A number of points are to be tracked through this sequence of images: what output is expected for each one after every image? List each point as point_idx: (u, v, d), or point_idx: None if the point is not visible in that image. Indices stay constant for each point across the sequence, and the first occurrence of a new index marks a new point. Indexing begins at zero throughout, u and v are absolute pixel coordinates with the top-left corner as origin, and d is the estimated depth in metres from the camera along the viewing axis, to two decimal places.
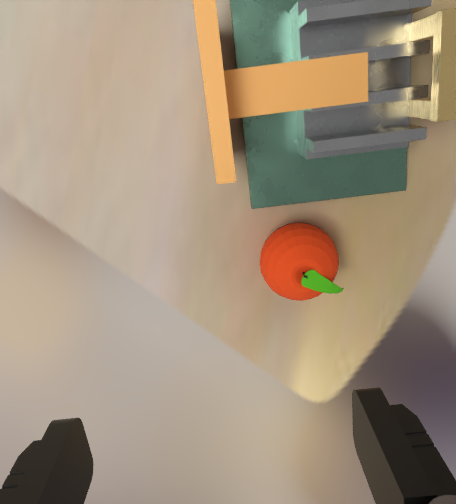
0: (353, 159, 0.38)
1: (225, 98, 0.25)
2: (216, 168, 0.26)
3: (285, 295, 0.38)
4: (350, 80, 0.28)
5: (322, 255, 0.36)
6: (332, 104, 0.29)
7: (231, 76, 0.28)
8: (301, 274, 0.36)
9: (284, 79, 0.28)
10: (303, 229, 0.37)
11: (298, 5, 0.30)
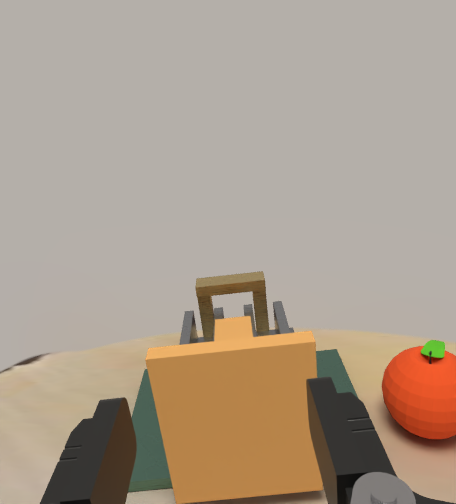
0: None
1: (231, 340, 0.26)
2: (298, 342, 0.25)
3: None
4: (233, 324, 0.35)
5: (403, 352, 0.35)
6: (251, 330, 0.34)
7: None
8: (432, 363, 0.33)
9: None
10: (385, 381, 0.34)
11: None
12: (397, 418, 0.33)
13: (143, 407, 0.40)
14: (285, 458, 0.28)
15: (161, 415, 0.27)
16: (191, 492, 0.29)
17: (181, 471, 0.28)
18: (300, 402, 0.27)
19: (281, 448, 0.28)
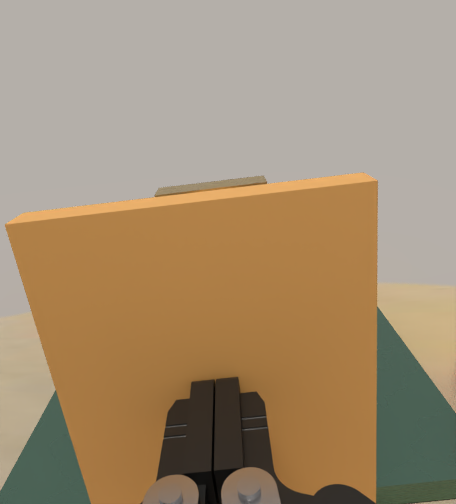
0: None
1: (196, 193, 0.13)
2: (340, 183, 0.12)
3: None
4: None
5: None
6: None
7: None
8: None
9: None
10: None
11: None
12: None
13: None
14: (306, 443, 0.14)
15: (53, 354, 0.13)
16: None
17: (104, 470, 0.15)
18: (339, 325, 0.13)
19: (299, 423, 0.14)
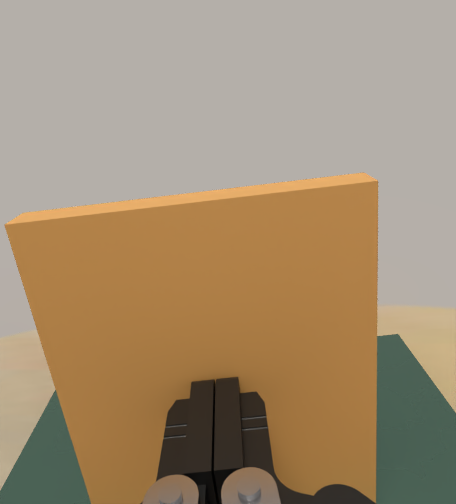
0: None
1: (196, 193, 0.13)
2: (340, 183, 0.11)
3: None
4: None
5: None
6: None
7: None
8: None
9: None
10: None
11: None
12: None
13: (42, 444, 0.21)
14: (306, 443, 0.14)
15: (53, 354, 0.13)
16: None
17: (104, 470, 0.15)
18: (340, 325, 0.13)
19: (299, 423, 0.14)
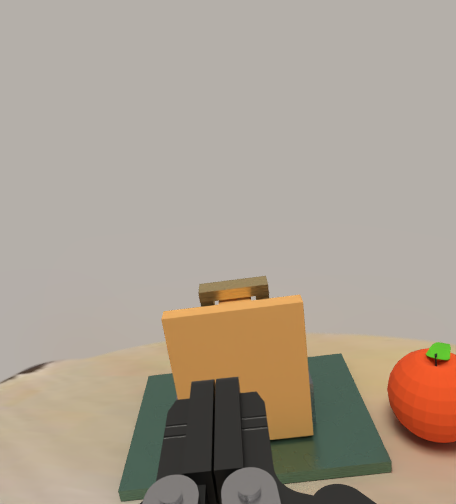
0: (317, 386, 0.40)
1: (233, 303, 0.31)
2: (289, 303, 0.30)
3: None
4: (235, 299, 0.40)
5: (408, 355, 0.34)
6: None
7: None
8: (438, 366, 0.33)
9: None
10: (390, 384, 0.34)
11: None
12: (403, 421, 0.33)
13: (147, 414, 0.39)
14: (280, 406, 0.33)
15: (175, 368, 0.32)
16: None
17: None
18: (292, 355, 0.32)
19: (277, 397, 0.33)
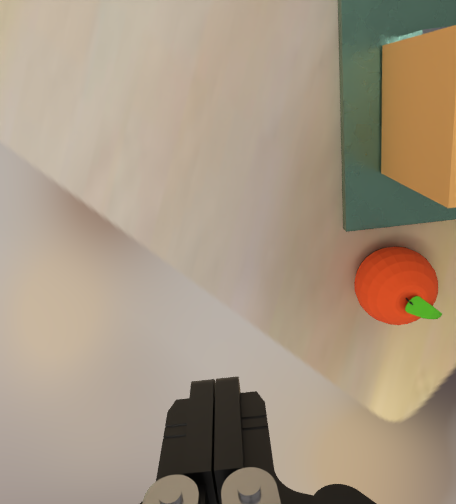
0: None
1: None
2: (451, 192, 0.26)
3: (384, 320, 0.37)
4: None
5: (427, 281, 0.35)
6: None
7: None
8: (404, 300, 0.36)
9: None
10: (405, 254, 0.36)
11: (422, 33, 0.30)
12: (375, 252, 0.38)
13: None
14: (395, 150, 0.33)
15: (425, 38, 0.27)
16: (386, 61, 0.33)
17: (395, 53, 0.31)
18: (418, 177, 0.30)
19: (399, 149, 0.33)
